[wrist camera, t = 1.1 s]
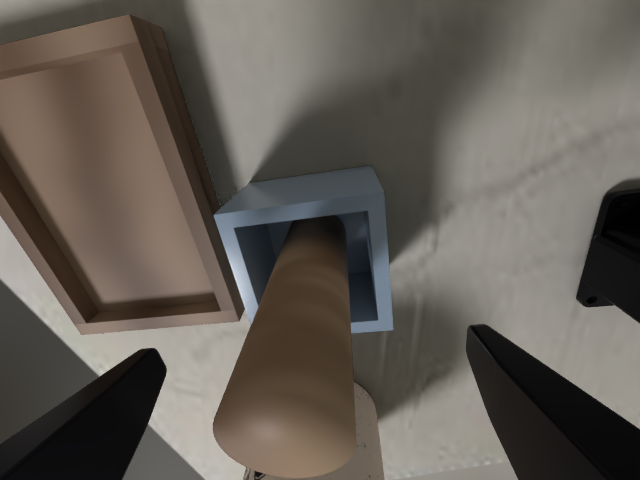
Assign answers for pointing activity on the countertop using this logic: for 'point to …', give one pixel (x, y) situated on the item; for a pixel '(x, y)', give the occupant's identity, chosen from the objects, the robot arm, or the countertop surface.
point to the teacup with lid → (366, 463)
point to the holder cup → (308, 202)
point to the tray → (111, 180)
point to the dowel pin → (296, 363)
